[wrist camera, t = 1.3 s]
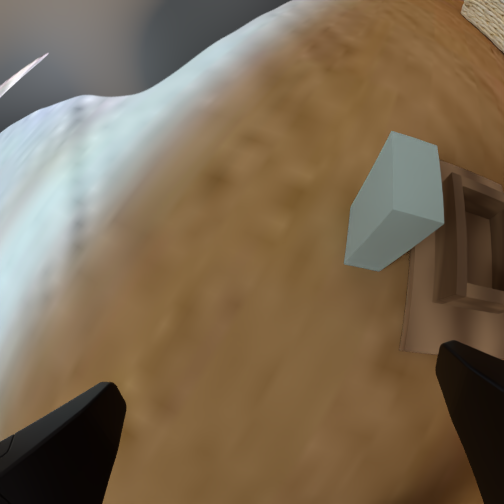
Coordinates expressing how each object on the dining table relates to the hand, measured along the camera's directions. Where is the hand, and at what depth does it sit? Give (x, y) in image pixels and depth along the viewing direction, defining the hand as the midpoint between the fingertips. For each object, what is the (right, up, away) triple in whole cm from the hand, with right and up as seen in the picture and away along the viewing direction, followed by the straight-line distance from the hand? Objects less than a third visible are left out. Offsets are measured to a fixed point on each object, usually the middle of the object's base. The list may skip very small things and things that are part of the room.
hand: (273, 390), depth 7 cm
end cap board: (+19, +3, +15) cm, 24 cm away
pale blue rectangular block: (+9, +5, +16) cm, 19 cm away
